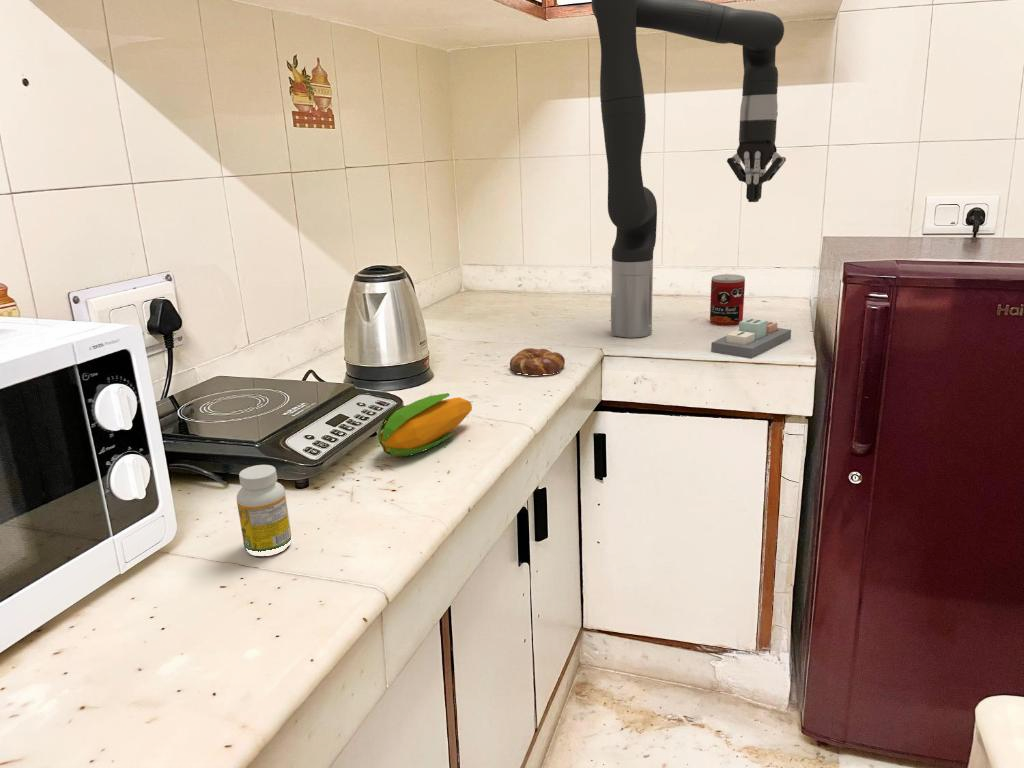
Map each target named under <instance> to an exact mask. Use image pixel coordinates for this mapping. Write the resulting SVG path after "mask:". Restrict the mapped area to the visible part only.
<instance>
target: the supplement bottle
mask: <svg viewBox="0 0 1024 768" xmlns="http://www.w3.org/2000/svg"><path fill="white" fill-rule="evenodd" d="M277 474H278V473H277V469H276V467H275V466H273V465H270V464H257V465H252V466H248V467H246V468H243V469H242V470H241V471H240V472H239V474H238V477H239V484H240V487H242V488H240V489H239V490H238V492H237V494H236V503H237V505H236V506H237V509H238V516H239V523H240V527H241V534H242V535H241V536H242V540H243V545H244V546H243V547H244V549H245V548H247V549H248V550H252V551H258V552H259V551H260V552H261V551H266V550H272V549H276V548H279V547H281V546H284V545H285V544H287V543H288V542H289V541H290V540H291V536H292V532H291V524H290V517H289V510H288V509H289V508H288V503H287V496H286V489H285V487H284V486H283V485H282V484H281V483H280V482H278V475H277Z"/></svg>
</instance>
